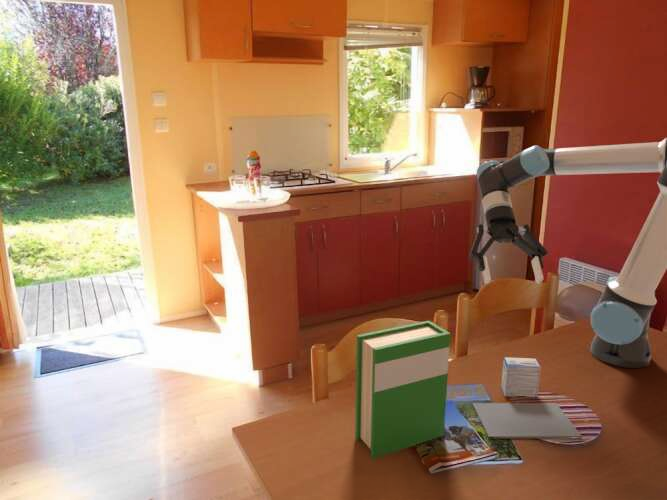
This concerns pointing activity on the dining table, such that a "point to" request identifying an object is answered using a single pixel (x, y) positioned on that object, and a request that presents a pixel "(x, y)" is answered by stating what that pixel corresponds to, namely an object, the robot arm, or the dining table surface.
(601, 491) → the dining table surface
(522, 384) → the medicine box
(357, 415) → the hardback book
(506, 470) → the dining table surface
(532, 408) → the mat
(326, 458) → the dining table surface
